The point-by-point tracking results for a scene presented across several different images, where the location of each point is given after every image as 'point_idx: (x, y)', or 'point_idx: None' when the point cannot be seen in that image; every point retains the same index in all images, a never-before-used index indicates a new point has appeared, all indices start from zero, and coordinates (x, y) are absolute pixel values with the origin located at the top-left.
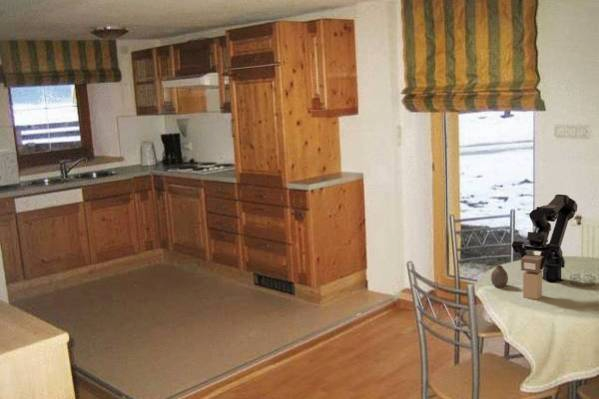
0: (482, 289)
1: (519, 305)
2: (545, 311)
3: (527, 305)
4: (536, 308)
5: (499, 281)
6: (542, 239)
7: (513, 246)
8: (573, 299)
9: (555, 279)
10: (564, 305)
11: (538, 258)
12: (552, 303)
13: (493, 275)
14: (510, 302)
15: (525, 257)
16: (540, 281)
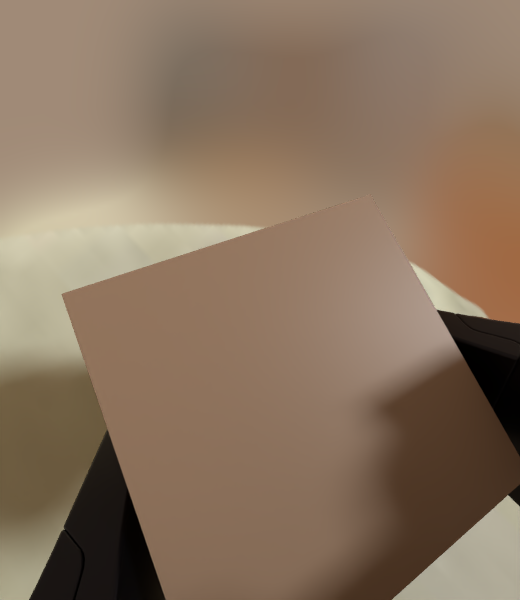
0: (417, 272)
1: (179, 236)
2: (32, 261)
3: (154, 262)
4: (95, 261)
5: None
6: None
7: None
8: (21, 560)
9: None
10: (2, 415)
11: (162, 408)
12: (80, 383)
13: (473, 316)
14: (233, 237)
15: (366, 268)
16: None
